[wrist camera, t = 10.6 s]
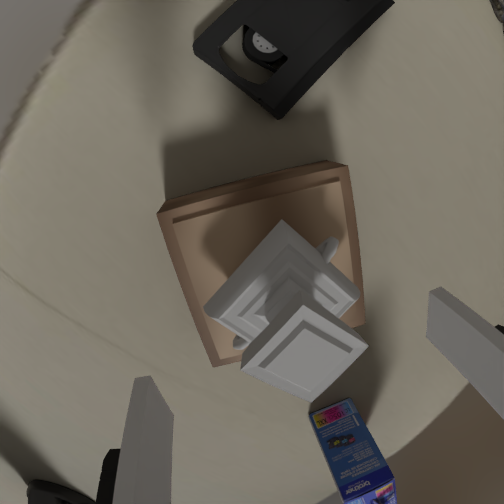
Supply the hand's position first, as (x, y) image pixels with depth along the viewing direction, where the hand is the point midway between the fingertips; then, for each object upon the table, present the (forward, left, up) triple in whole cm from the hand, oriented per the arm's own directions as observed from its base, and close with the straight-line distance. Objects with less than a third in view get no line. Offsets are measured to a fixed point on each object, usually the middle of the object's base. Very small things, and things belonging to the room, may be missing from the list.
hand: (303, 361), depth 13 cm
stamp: (0, 0, -8) cm, 8 cm away
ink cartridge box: (+4, -24, -13) cm, 27 cm away
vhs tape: (+7, +17, -13) cm, 23 cm away
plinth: (0, 0, -12) cm, 12 cm away
